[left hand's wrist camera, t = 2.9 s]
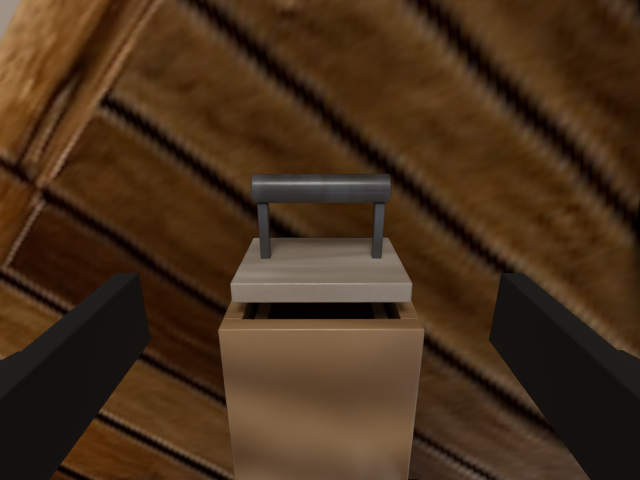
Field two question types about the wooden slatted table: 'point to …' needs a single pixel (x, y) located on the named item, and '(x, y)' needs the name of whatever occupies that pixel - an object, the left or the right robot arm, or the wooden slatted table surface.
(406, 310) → the cabinet
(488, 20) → the wooden slatted table surface
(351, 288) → the drawer
